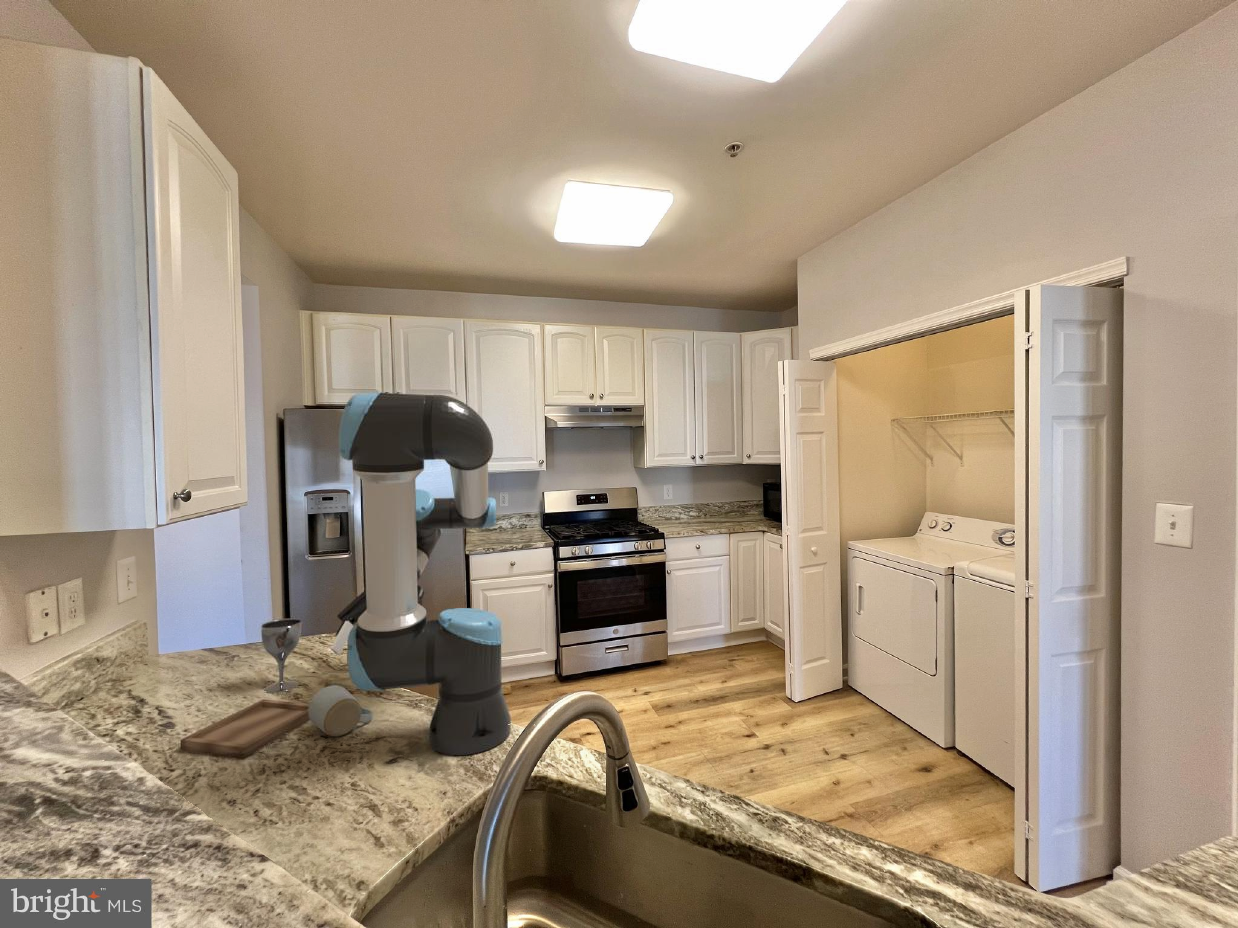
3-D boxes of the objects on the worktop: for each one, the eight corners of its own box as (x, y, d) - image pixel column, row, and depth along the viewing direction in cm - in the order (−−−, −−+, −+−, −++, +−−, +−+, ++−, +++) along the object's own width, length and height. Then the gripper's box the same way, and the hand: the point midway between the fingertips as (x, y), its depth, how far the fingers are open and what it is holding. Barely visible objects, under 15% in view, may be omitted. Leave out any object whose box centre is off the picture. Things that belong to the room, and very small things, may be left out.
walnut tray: (319, 714, 106) (319, 704, 106) (244, 758, 90) (244, 747, 90) (263, 708, 109) (263, 699, 109) (180, 750, 93) (180, 739, 93)
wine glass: (303, 687, 120) (304, 623, 121) (262, 696, 115) (263, 630, 115) (298, 677, 126) (298, 616, 127) (258, 685, 121) (259, 622, 121)
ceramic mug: (323, 744, 94) (325, 702, 95) (306, 730, 100) (307, 691, 100) (380, 724, 103) (381, 685, 103) (362, 712, 108) (363, 675, 108)
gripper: (458, 580, 123) (422, 665, 108) (368, 576, 128) (321, 657, 113) (446, 562, 118) (407, 649, 103) (353, 559, 123) (302, 641, 108)
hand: (362, 653), depth 108 cm, fingers open, 13 cm apart
